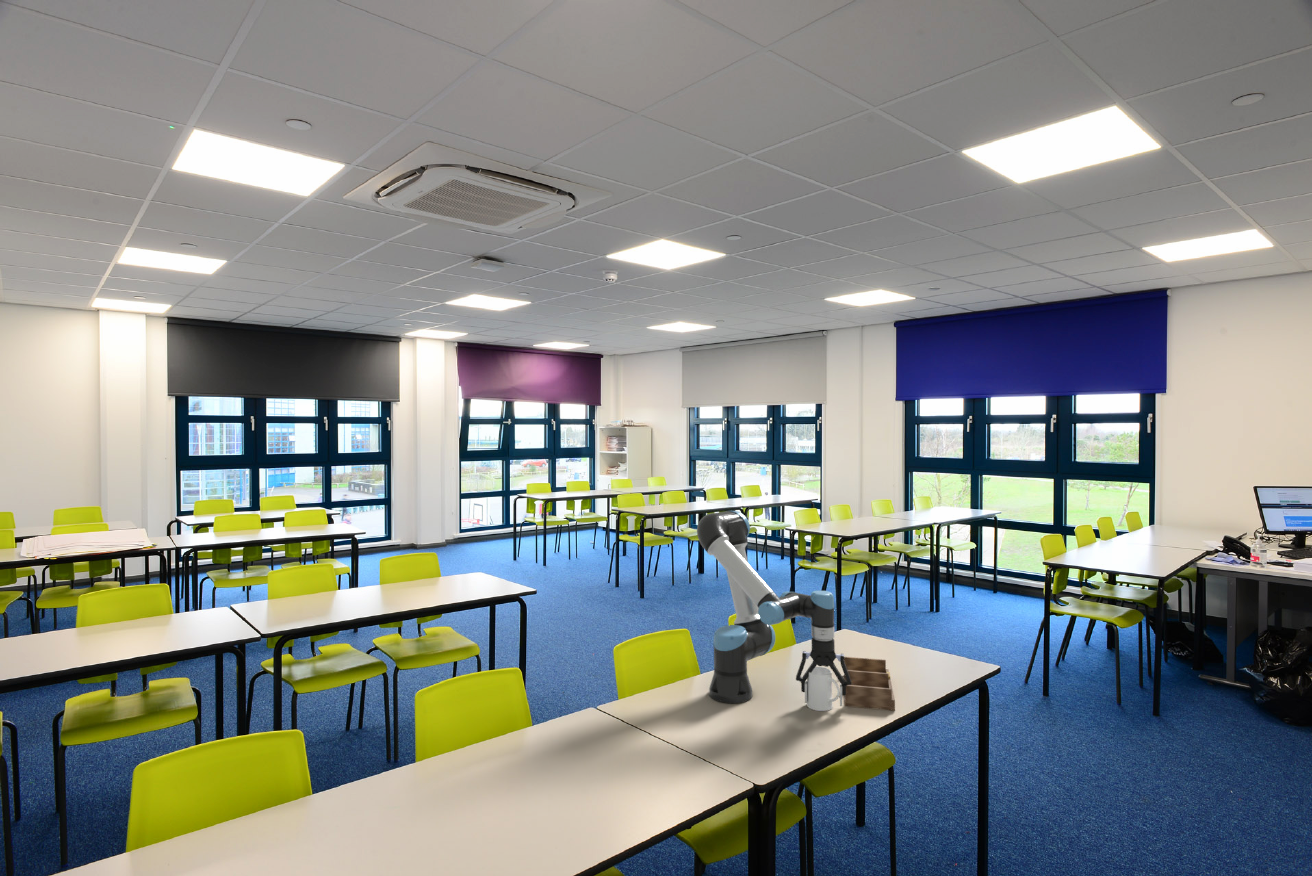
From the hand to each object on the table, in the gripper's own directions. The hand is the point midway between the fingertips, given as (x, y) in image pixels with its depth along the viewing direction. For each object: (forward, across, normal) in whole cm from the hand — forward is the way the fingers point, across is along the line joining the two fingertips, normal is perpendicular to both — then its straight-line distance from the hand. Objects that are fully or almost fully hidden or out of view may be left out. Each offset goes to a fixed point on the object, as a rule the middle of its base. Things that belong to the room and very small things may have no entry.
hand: (823, 703), depth 225 cm
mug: (+2, 0, 0) cm, 2 cm away
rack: (+2, +15, +18) cm, 23 cm away
